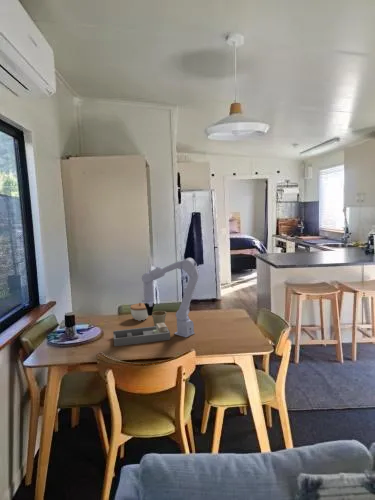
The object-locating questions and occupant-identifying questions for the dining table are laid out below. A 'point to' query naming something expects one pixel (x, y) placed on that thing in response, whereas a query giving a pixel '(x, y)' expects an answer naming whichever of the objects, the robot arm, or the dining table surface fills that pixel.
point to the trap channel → (144, 336)
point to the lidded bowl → (139, 311)
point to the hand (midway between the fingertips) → (149, 315)
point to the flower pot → (158, 317)
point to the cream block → (161, 327)
